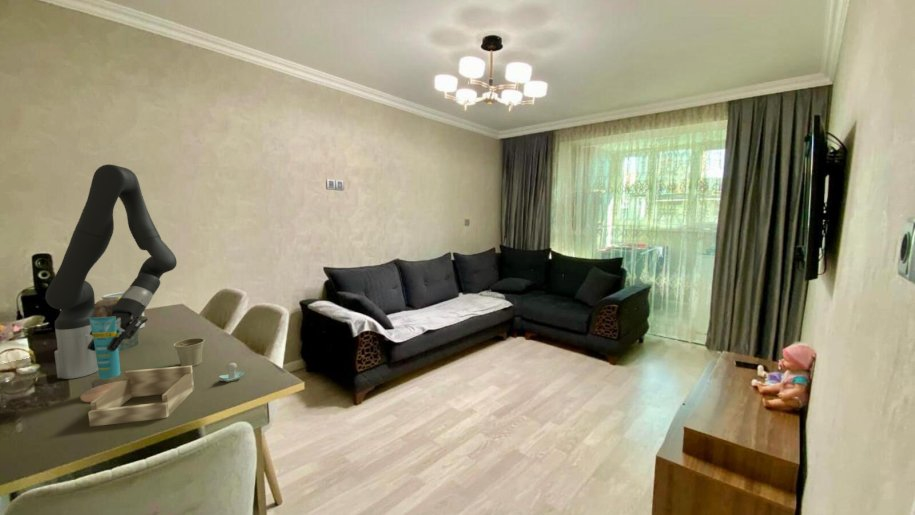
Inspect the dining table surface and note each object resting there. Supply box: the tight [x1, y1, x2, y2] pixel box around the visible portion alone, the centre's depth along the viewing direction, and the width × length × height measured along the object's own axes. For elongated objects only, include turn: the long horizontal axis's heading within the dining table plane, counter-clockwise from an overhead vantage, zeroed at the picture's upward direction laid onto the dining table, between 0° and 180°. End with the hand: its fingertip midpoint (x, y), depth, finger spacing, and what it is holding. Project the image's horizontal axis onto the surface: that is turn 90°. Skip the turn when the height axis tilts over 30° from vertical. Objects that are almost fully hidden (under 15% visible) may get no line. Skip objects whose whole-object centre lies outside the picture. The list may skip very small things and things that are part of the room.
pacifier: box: [219, 362, 245, 383], centre depth 126 cm, size 7×6×6 cm
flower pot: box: [173, 337, 206, 367], centre depth 138 cm, size 9×9×9 cm
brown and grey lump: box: [94, 297, 148, 353], centre depth 154 cm, size 23×25×22 cm
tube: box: [89, 316, 121, 380], centre depth 115 cm, size 7×5×19 cm, turn 103°
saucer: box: [80, 380, 122, 403], centre depth 117 cm, size 13×13×1 cm
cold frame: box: [88, 365, 195, 427], centre depth 108 cm, size 17×17×8 cm
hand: (100, 349), depth 113 cm, fingers closed on tube, 6 cm apart
